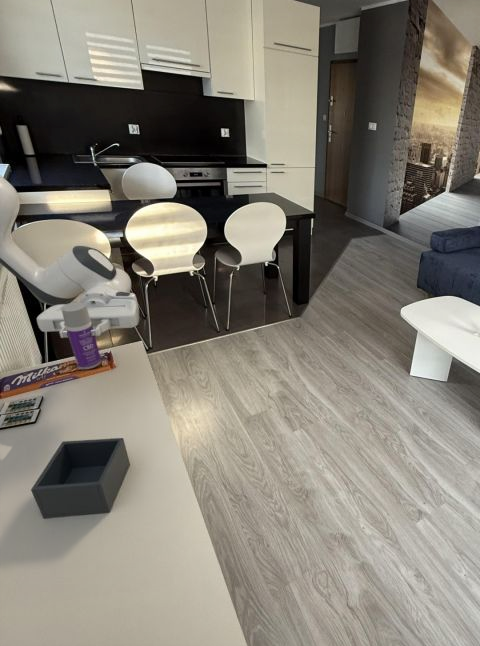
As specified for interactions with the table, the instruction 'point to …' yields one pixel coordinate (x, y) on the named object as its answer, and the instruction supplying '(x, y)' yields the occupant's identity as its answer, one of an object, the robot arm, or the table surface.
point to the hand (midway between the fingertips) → (79, 334)
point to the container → (81, 335)
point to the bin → (82, 478)
